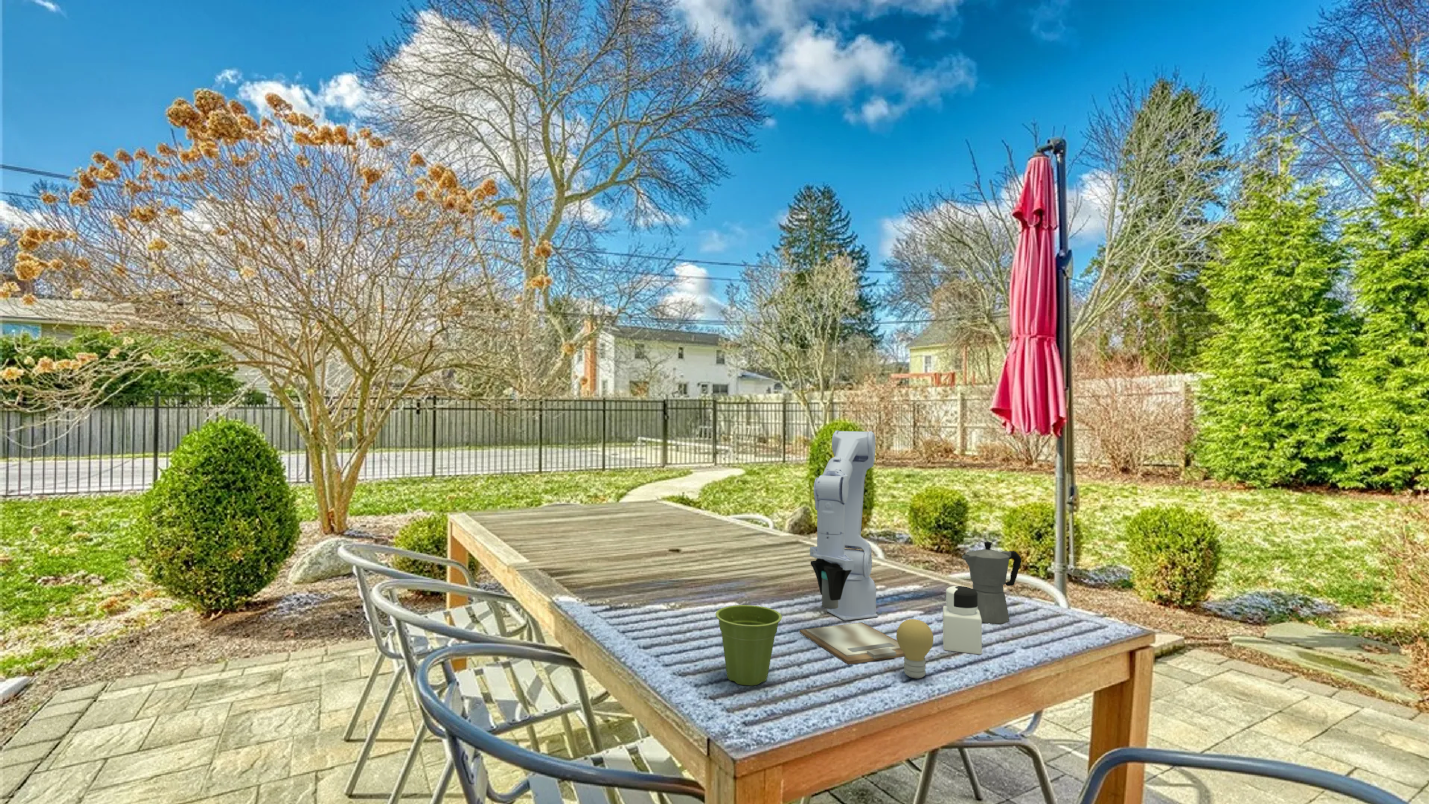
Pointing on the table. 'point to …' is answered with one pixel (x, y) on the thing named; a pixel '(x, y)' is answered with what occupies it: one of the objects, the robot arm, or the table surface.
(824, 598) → the teal topped grey cylinder
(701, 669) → the table surface
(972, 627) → the medicine bottle
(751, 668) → the plant pot
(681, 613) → the table surface
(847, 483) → the robot arm
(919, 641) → the light bulb
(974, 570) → the coffeepot
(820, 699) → the table surface
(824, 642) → the clipboard
